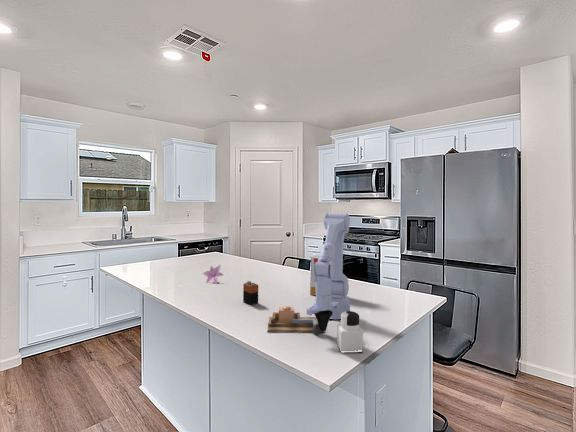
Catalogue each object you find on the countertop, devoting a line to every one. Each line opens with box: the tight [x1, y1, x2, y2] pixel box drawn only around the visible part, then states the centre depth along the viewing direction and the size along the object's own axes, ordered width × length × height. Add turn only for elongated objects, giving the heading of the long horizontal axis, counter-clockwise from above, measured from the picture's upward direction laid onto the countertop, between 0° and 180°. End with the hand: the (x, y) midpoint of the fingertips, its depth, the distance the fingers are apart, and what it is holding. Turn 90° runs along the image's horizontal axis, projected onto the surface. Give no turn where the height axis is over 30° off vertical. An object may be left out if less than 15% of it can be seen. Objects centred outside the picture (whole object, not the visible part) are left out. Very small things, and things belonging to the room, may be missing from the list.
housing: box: [267, 311, 323, 333], centre depth 128 cm, size 21×14×3 cm, turn 90°
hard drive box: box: [309, 255, 344, 296], centre depth 170 cm, size 16×8×20 cm, turn 62°
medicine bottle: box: [336, 310, 364, 351], centre depth 108 cm, size 7×7×12 cm
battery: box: [242, 280, 259, 306], centre depth 156 cm, size 4×7×10 cm, turn 44°
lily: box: [202, 264, 224, 285], centre depth 196 cm, size 12×12×10 cm
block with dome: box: [278, 305, 295, 323], centre depth 130 cm, size 6×4×6 cm, turn 91°
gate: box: [292, 319, 319, 335], centre depth 123 cm, size 9×8×3 cm
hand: (322, 330), depth 120 cm, fingers closed
